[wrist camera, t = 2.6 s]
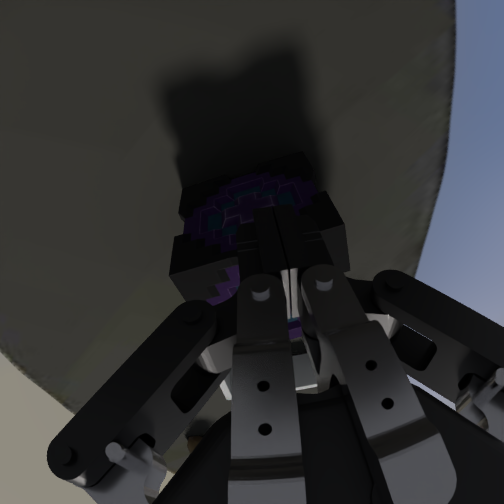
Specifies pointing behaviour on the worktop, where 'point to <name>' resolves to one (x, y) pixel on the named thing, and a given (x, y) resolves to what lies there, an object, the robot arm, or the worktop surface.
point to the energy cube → (240, 212)
